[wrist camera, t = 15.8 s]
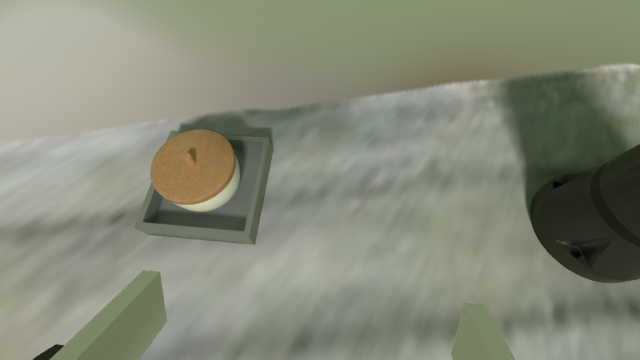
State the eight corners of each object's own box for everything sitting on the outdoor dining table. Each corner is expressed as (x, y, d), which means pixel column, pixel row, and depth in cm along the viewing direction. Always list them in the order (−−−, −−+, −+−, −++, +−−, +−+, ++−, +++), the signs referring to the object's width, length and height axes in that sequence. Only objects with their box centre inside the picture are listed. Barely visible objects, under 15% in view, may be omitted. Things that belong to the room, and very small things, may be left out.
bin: (273, 149, 49) (269, 137, 46) (254, 244, 43) (248, 237, 39) (180, 143, 50) (170, 130, 47) (148, 234, 44) (134, 227, 40)
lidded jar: (163, 187, 46) (126, 156, 38) (221, 145, 49) (198, 107, 41) (203, 237, 42) (172, 215, 34) (263, 188, 45) (248, 156, 37)
